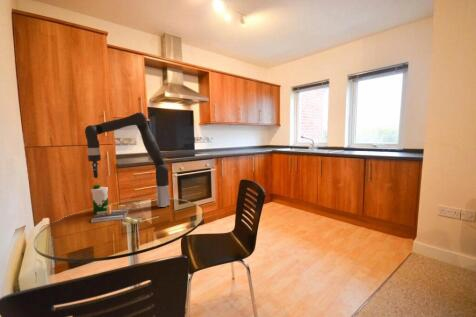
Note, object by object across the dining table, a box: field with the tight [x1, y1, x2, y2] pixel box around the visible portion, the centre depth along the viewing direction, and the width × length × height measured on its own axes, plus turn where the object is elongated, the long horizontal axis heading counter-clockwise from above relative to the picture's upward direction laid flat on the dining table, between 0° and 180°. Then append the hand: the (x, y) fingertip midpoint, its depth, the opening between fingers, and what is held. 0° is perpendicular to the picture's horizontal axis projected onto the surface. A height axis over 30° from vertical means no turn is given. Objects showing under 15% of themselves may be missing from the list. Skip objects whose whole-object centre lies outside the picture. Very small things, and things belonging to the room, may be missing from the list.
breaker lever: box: [105, 204, 113, 216], centre depth 147 cm, size 4×3×6 cm
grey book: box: [91, 208, 128, 220], centre depth 147 cm, size 19×13×2 cm
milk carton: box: [90, 184, 109, 215], centre depth 156 cm, size 9×9×20 cm
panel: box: [90, 209, 130, 224], centre depth 148 cm, size 20×13×2 cm, turn 107°
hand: (96, 176), depth 151 cm, fingers open, 8 cm apart
